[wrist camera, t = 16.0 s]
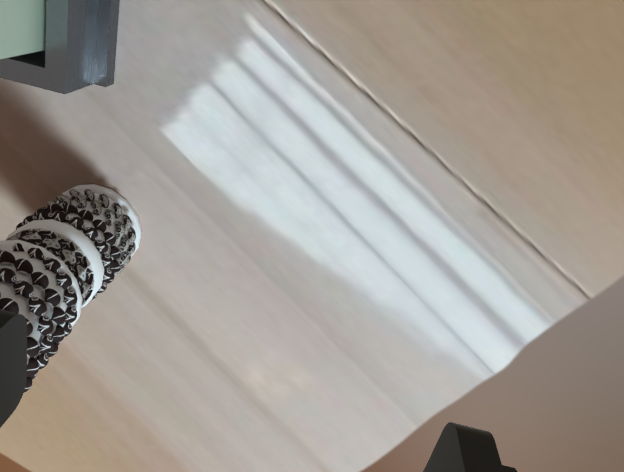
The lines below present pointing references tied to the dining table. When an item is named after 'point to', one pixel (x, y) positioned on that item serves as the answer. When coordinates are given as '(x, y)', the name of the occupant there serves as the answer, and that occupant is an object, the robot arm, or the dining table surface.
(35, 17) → the panel
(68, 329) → the decorative candle
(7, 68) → the stand
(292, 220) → the dining table surface
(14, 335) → the robot arm
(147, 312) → the dining table surface
